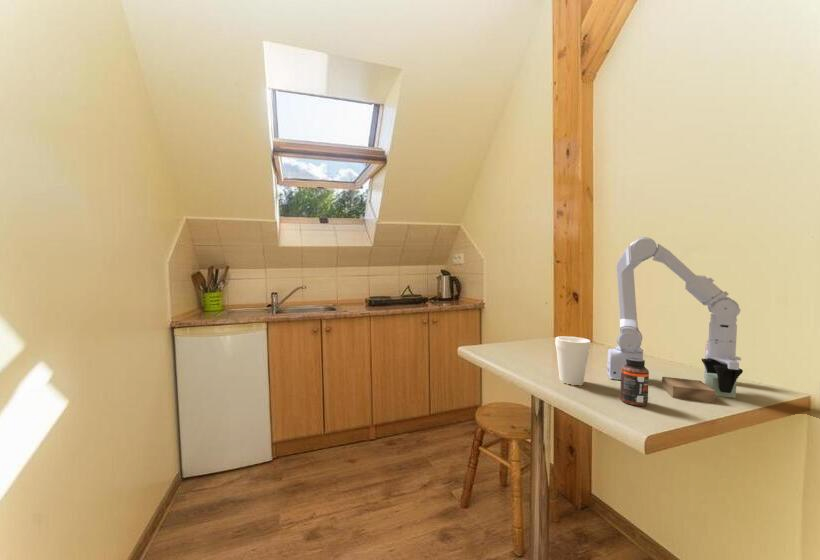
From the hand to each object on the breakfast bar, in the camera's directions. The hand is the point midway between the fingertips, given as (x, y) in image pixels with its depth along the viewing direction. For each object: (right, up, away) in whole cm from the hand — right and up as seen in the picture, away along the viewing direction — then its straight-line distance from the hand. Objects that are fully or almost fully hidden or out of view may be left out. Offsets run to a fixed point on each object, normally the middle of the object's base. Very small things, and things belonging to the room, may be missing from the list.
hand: (719, 388), depth 96 cm
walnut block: (-10, -2, -1) cm, 10 cm away
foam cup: (-38, -1, +8) cm, 39 cm away
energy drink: (+9, -1, +12) cm, 15 cm away
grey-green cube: (0, -2, 0) cm, 2 cm away
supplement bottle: (-29, -1, -8) cm, 30 cm away
